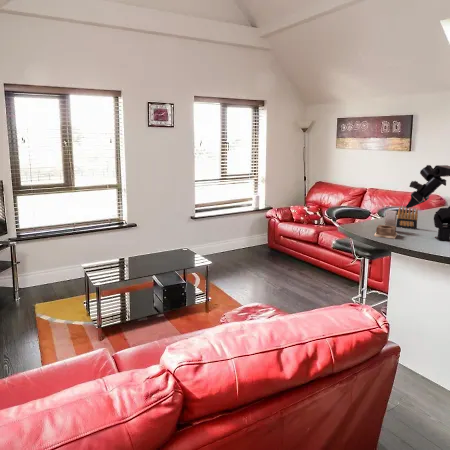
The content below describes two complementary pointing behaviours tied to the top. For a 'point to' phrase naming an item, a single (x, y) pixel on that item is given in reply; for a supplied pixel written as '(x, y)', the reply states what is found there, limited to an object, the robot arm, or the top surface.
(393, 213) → the metal bar
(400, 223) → the ammunition clip
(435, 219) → the robot arm
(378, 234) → the socket block
